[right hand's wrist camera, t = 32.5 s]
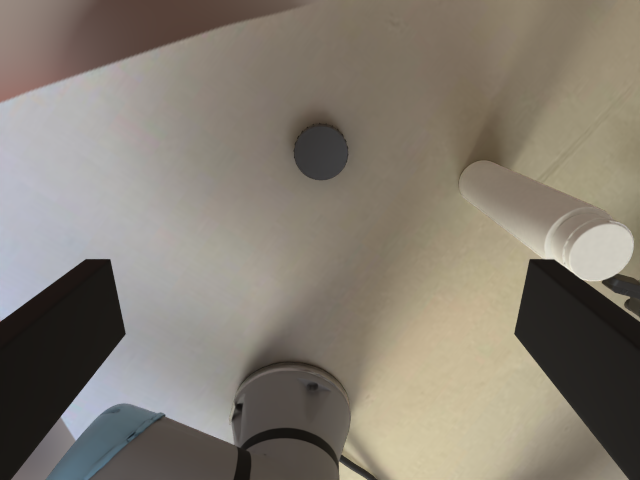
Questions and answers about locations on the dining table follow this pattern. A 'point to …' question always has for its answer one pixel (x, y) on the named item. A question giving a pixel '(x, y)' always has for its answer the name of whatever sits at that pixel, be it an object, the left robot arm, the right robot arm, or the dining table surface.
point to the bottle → (549, 220)
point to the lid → (321, 152)
